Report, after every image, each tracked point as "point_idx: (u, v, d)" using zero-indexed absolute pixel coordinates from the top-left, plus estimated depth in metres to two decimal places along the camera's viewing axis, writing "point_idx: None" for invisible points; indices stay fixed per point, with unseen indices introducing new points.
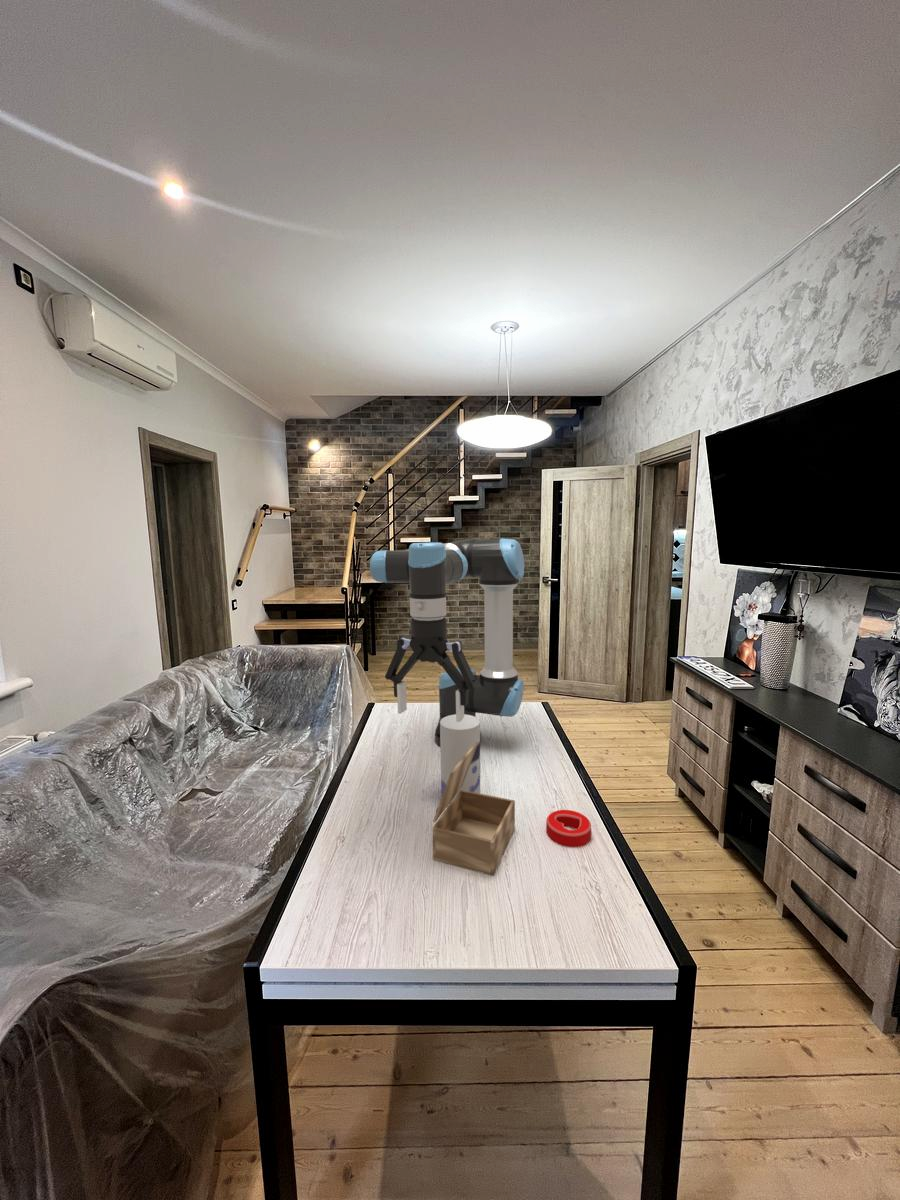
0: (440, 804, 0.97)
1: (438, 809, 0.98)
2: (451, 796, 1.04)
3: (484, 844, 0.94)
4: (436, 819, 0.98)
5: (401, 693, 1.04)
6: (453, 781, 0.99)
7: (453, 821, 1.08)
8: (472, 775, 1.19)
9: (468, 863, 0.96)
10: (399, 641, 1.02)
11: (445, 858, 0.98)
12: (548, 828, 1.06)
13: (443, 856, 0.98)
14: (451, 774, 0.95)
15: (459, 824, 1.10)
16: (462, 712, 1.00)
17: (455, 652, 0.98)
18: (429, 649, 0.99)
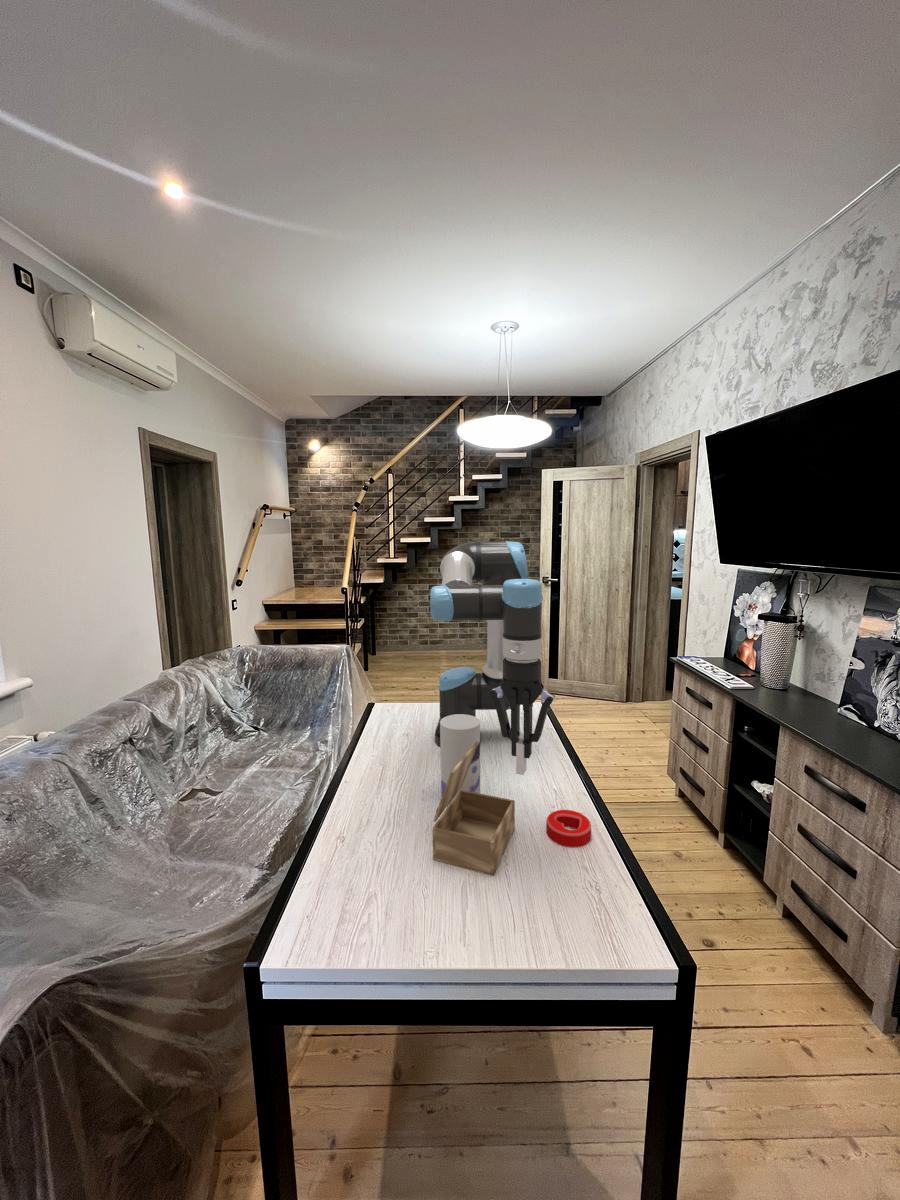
0: (440, 804, 0.97)
1: (438, 809, 0.98)
2: (451, 796, 1.04)
3: (484, 844, 0.94)
4: (436, 819, 0.98)
5: None
6: (453, 781, 0.99)
7: (453, 821, 1.08)
8: (472, 775, 1.19)
9: (468, 863, 0.96)
10: (491, 693, 0.97)
11: (445, 858, 0.98)
12: (548, 828, 1.06)
13: (443, 856, 0.98)
14: (451, 774, 0.95)
15: (459, 824, 1.10)
16: (525, 764, 0.98)
17: (545, 705, 0.93)
18: (525, 692, 0.93)
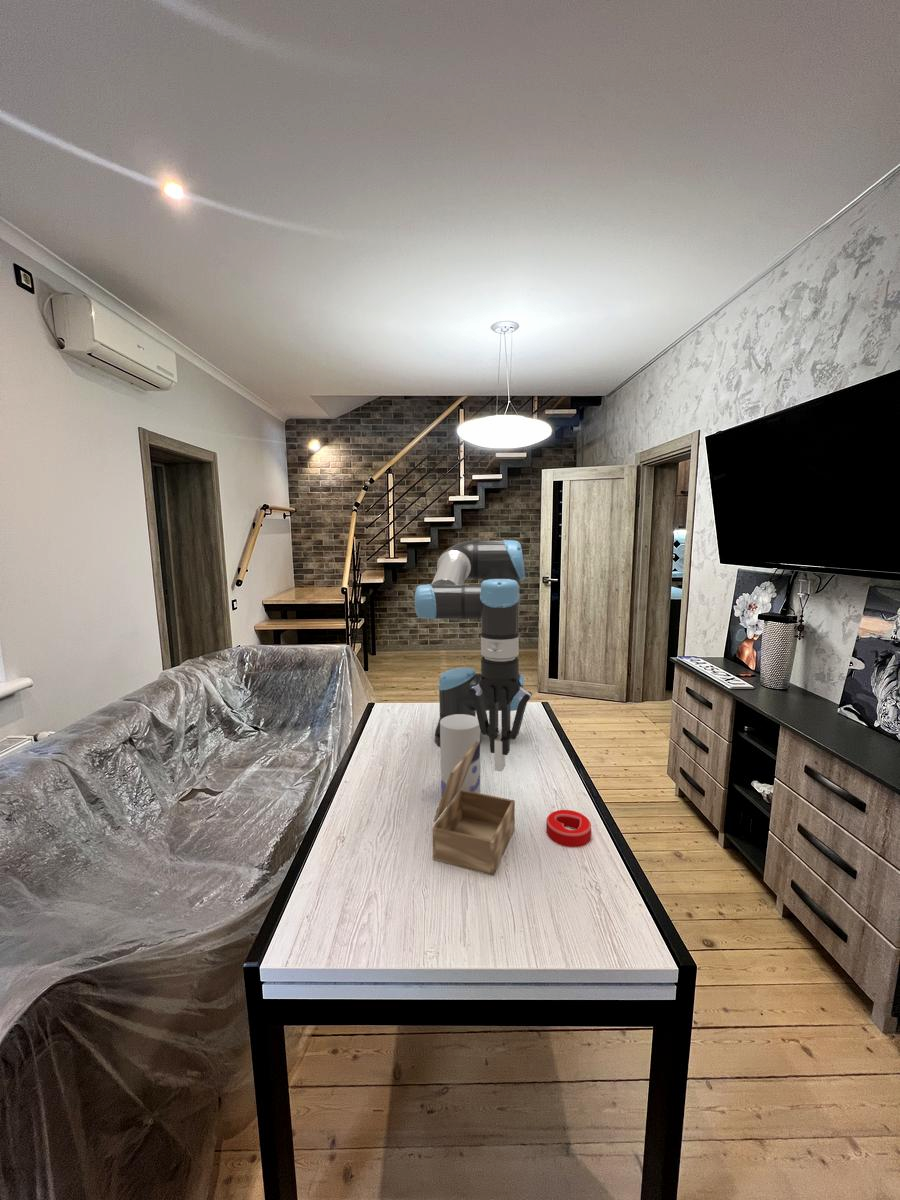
0: (440, 804, 0.97)
1: (438, 809, 0.98)
2: (451, 796, 1.04)
3: (484, 844, 0.94)
4: (436, 819, 0.98)
5: None
6: (453, 781, 0.99)
7: (453, 821, 1.08)
8: (472, 775, 1.19)
9: (468, 863, 0.96)
10: (470, 691, 0.99)
11: (445, 858, 0.98)
12: (548, 828, 1.06)
13: (443, 856, 0.98)
14: (451, 774, 0.95)
15: (459, 824, 1.10)
16: (503, 761, 1.00)
17: (523, 703, 0.95)
18: (502, 690, 0.95)
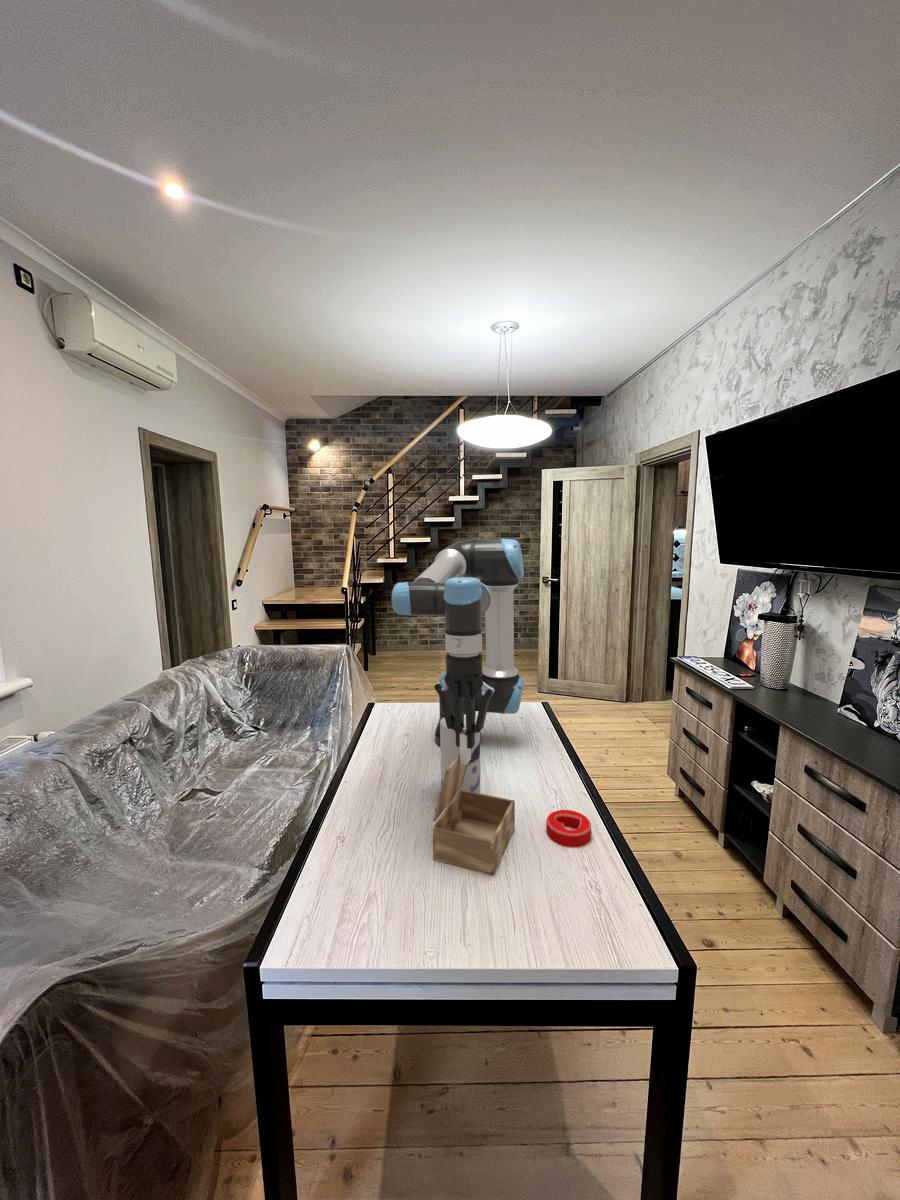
0: (438, 803, 0.97)
1: (437, 808, 0.98)
2: (450, 795, 1.04)
3: (484, 844, 0.94)
4: (436, 819, 0.99)
5: None
6: (450, 779, 1.00)
7: (453, 821, 1.08)
8: (472, 775, 1.19)
9: (468, 863, 0.96)
10: (436, 687, 1.01)
11: (445, 858, 0.98)
12: (548, 828, 1.06)
13: (443, 856, 0.98)
14: (446, 772, 0.96)
15: (459, 824, 1.10)
16: (469, 754, 1.02)
17: (485, 697, 0.98)
18: (466, 685, 0.98)
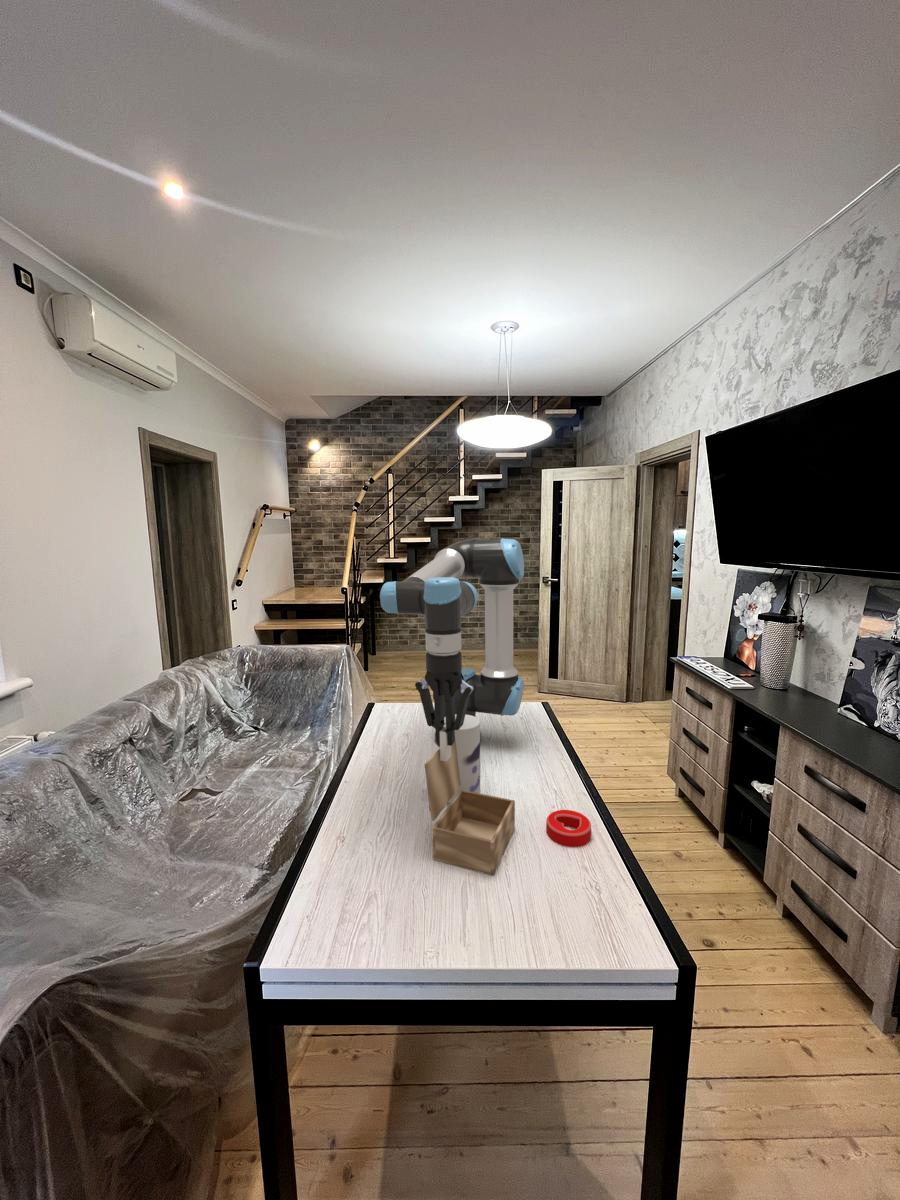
0: (430, 800, 0.98)
1: (430, 806, 0.98)
2: (446, 794, 1.05)
3: (484, 844, 0.94)
4: (433, 818, 0.99)
5: None
6: (435, 775, 1.01)
7: (453, 821, 1.08)
8: (472, 775, 1.19)
9: (468, 863, 0.96)
10: (416, 685, 1.03)
11: (445, 858, 0.98)
12: (548, 828, 1.06)
13: (443, 856, 0.98)
14: (425, 766, 0.97)
15: (459, 824, 1.10)
16: (449, 751, 1.04)
17: (464, 695, 0.99)
18: (445, 683, 1.00)
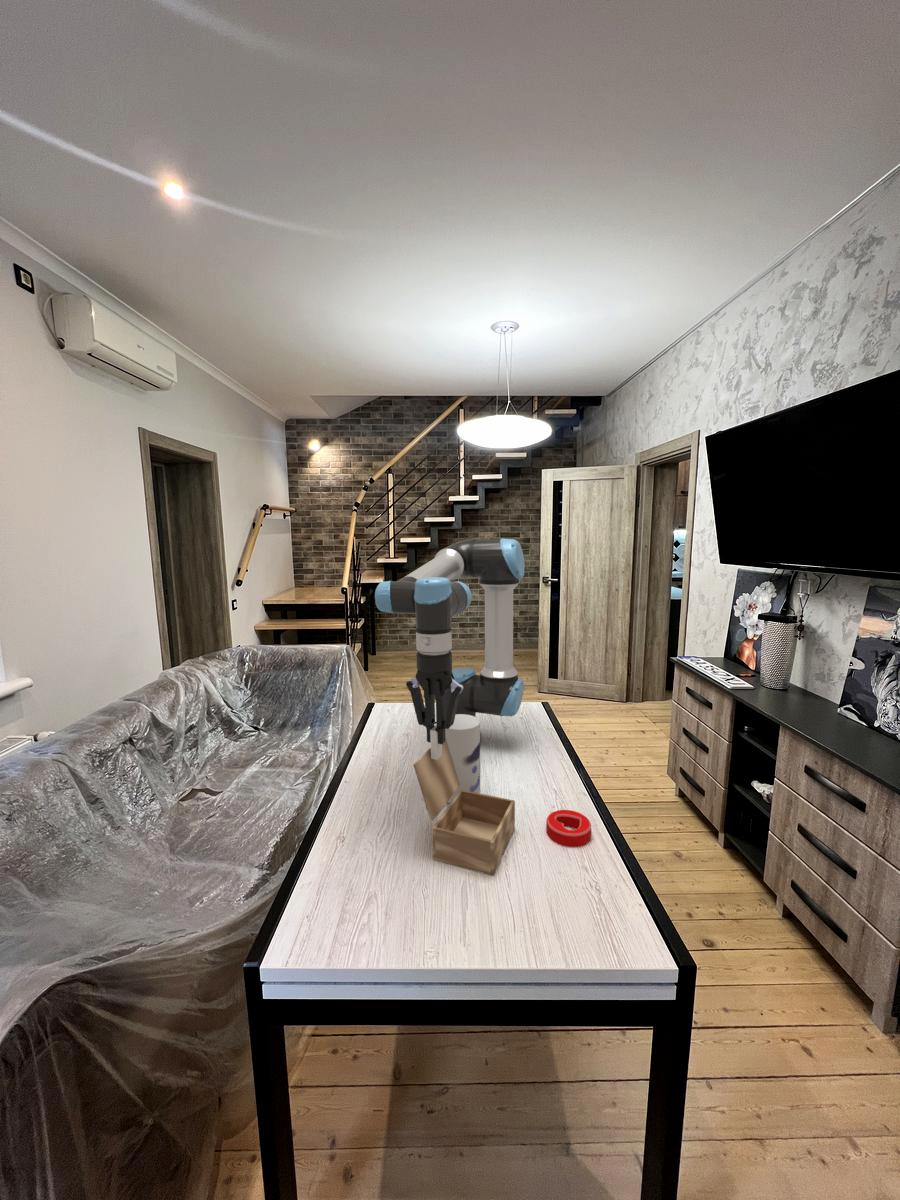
0: (425, 800, 0.99)
1: (427, 806, 0.99)
2: (443, 794, 1.05)
3: (484, 844, 0.94)
4: (432, 817, 0.99)
5: None
6: (427, 775, 1.01)
7: (453, 821, 1.08)
8: (472, 775, 1.19)
9: (468, 863, 0.96)
10: (407, 684, 1.04)
11: (445, 858, 0.98)
12: (548, 828, 1.06)
13: (443, 856, 0.98)
14: (415, 766, 0.98)
15: (459, 824, 1.10)
16: (440, 750, 1.05)
17: (454, 694, 1.00)
18: (435, 682, 1.01)
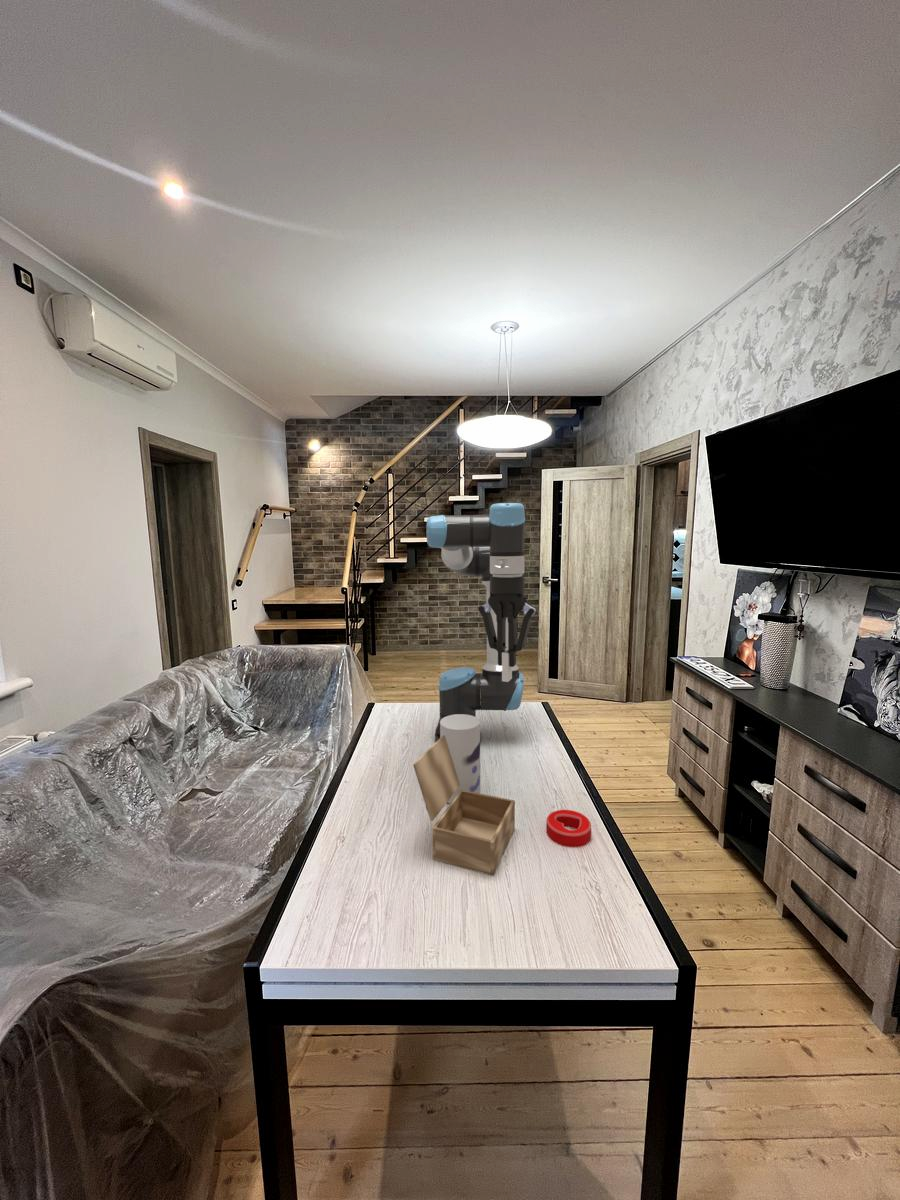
0: (425, 800, 0.99)
1: (427, 806, 0.99)
2: (443, 794, 1.05)
3: (484, 844, 0.94)
4: (432, 817, 0.99)
5: None
6: (427, 775, 1.01)
7: (453, 821, 1.08)
8: (472, 775, 1.19)
9: (468, 863, 0.96)
10: (480, 608, 1.08)
11: (445, 858, 0.98)
12: (548, 828, 1.06)
13: (443, 856, 0.98)
14: (414, 766, 0.98)
15: (459, 824, 1.10)
16: (510, 673, 1.08)
17: (527, 616, 1.03)
18: (509, 604, 1.04)
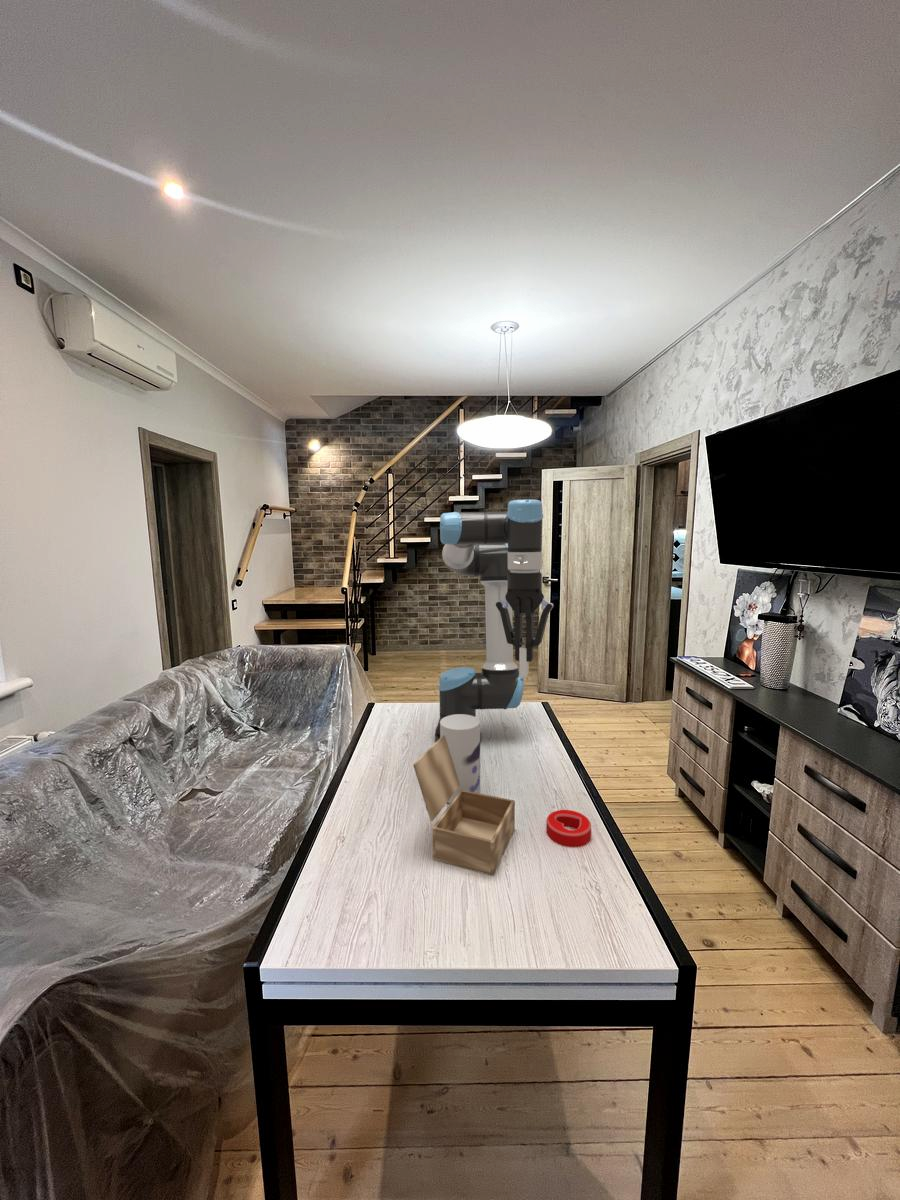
0: (425, 800, 0.99)
1: (427, 806, 0.99)
2: (443, 794, 1.05)
3: (484, 844, 0.94)
4: (432, 817, 0.99)
5: None
6: (427, 775, 1.01)
7: (453, 821, 1.08)
8: (472, 775, 1.19)
9: (468, 863, 0.96)
10: (497, 604, 1.09)
11: (445, 858, 0.98)
12: (548, 828, 1.06)
13: (443, 856, 0.98)
14: (414, 766, 0.98)
15: (459, 824, 1.10)
16: (527, 668, 1.10)
17: (545, 611, 1.05)
18: (527, 600, 1.05)
